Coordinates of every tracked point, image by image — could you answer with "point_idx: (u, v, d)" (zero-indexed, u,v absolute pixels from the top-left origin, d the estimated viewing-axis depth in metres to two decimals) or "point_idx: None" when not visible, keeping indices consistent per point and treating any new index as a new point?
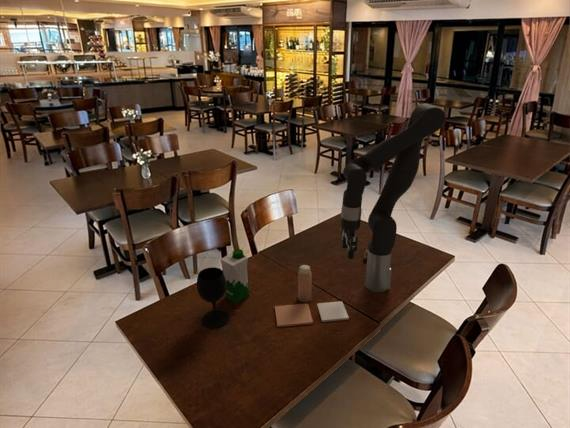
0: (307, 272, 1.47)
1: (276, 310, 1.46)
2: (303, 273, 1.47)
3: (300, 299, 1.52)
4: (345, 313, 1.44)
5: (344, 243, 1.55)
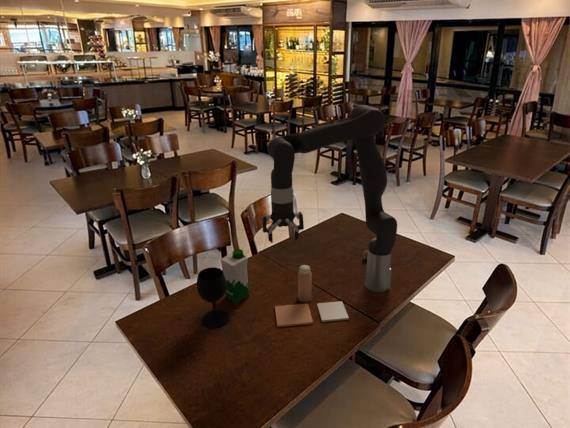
0: (307, 272, 1.47)
1: (276, 310, 1.46)
2: (303, 273, 1.47)
3: (300, 299, 1.52)
4: (345, 313, 1.44)
5: None
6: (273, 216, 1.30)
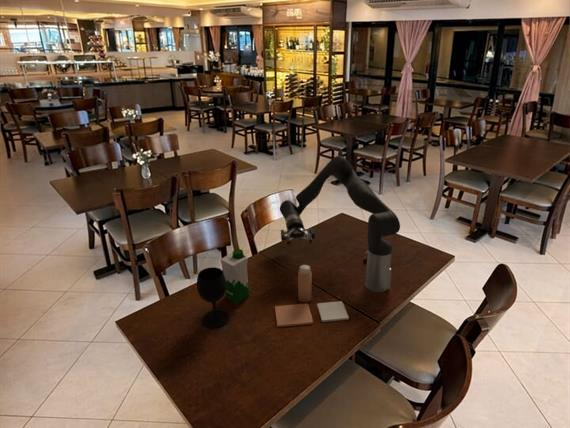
0: (307, 272, 1.47)
1: (276, 310, 1.46)
2: (303, 272, 1.47)
3: (300, 299, 1.52)
4: (345, 313, 1.44)
5: (289, 239, 1.59)
6: (288, 229, 1.66)
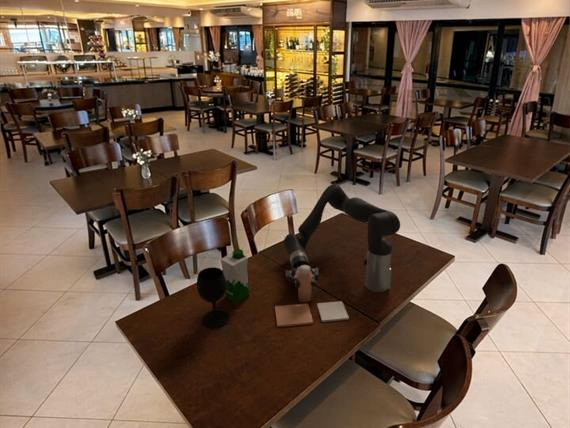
0: (307, 272, 1.47)
1: (276, 310, 1.46)
2: (303, 273, 1.47)
3: (300, 299, 1.52)
4: (345, 313, 1.44)
5: (298, 281, 1.50)
6: (293, 268, 1.58)
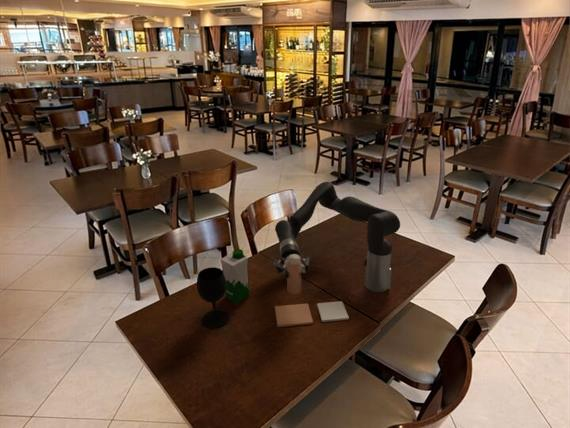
0: (296, 262, 1.36)
1: (276, 310, 1.46)
2: (292, 262, 1.36)
3: (289, 291, 1.41)
4: (345, 313, 1.44)
5: (287, 272, 1.39)
6: (282, 257, 1.47)
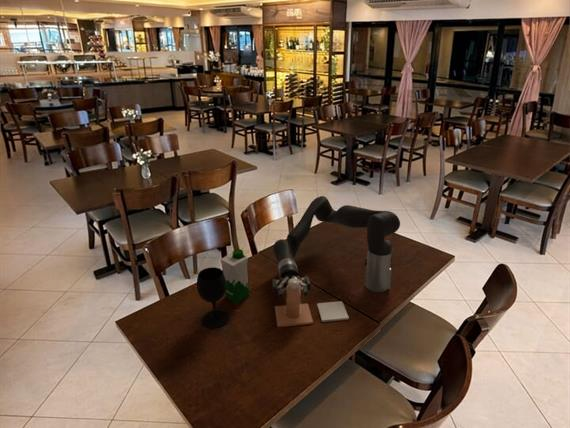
0: (296, 287, 1.37)
1: (276, 310, 1.46)
2: (292, 287, 1.37)
3: (288, 315, 1.42)
4: (345, 313, 1.44)
5: (282, 292, 1.40)
6: (281, 278, 1.47)
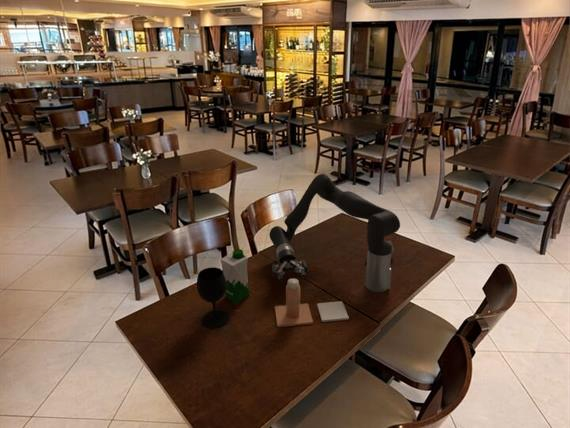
0: (295, 286, 1.37)
1: (276, 310, 1.46)
2: (291, 287, 1.37)
3: (288, 315, 1.42)
4: (345, 313, 1.44)
5: None
6: (280, 262, 1.59)
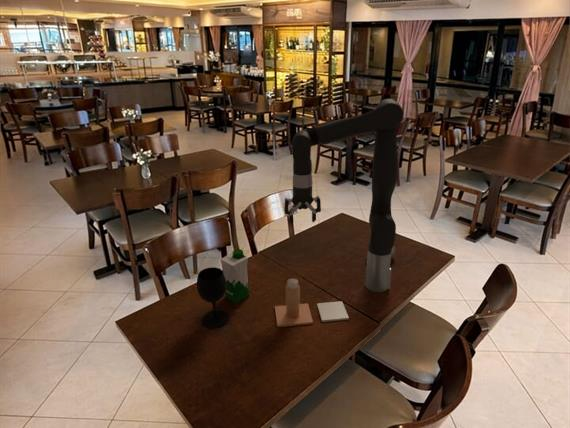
0: (295, 286, 1.37)
1: (276, 310, 1.46)
2: (291, 287, 1.37)
3: (288, 315, 1.42)
4: (345, 313, 1.44)
5: (292, 218, 1.52)
6: (294, 200, 1.48)
